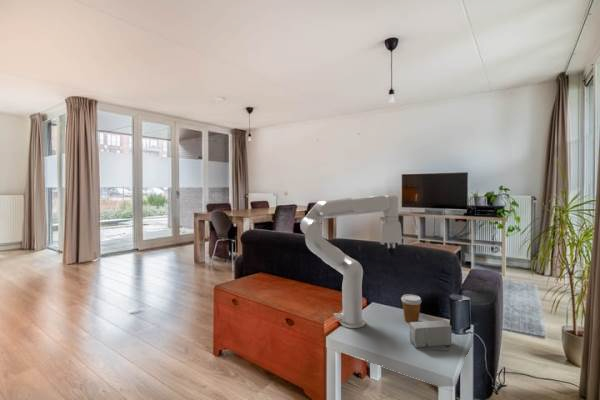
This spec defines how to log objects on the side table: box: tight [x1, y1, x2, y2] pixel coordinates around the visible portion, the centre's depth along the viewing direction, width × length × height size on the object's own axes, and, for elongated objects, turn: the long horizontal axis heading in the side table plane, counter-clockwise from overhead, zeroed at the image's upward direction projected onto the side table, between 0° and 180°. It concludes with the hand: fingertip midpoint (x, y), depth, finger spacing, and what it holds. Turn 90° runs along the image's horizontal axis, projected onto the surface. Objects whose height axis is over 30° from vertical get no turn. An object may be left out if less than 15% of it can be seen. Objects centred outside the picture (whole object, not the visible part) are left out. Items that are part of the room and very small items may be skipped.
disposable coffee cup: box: [400, 293, 423, 324], centre depth 150 cm, size 10×10×12 cm
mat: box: [416, 345, 449, 352], centre depth 129 cm, size 12×12×1 cm
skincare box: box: [409, 319, 453, 348], centre depth 128 cm, size 8×7×16 cm
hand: (391, 255), depth 154 cm, fingers closed
